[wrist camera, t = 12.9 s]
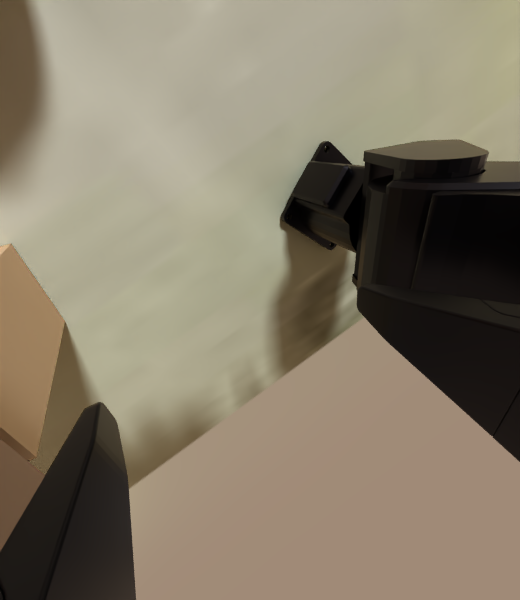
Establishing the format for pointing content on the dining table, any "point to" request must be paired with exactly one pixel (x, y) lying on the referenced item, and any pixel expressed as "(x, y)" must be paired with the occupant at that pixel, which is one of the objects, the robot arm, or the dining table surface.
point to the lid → (15, 488)
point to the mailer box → (25, 353)
